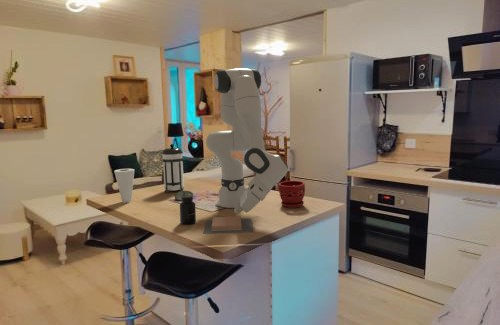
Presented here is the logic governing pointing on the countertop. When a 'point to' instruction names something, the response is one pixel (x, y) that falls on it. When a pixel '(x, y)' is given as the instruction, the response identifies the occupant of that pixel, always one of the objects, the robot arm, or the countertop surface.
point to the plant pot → (292, 193)
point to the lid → (182, 193)
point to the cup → (125, 183)
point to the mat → (245, 225)
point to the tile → (226, 223)
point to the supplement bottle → (187, 210)
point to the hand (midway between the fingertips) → (235, 212)
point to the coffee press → (173, 169)
